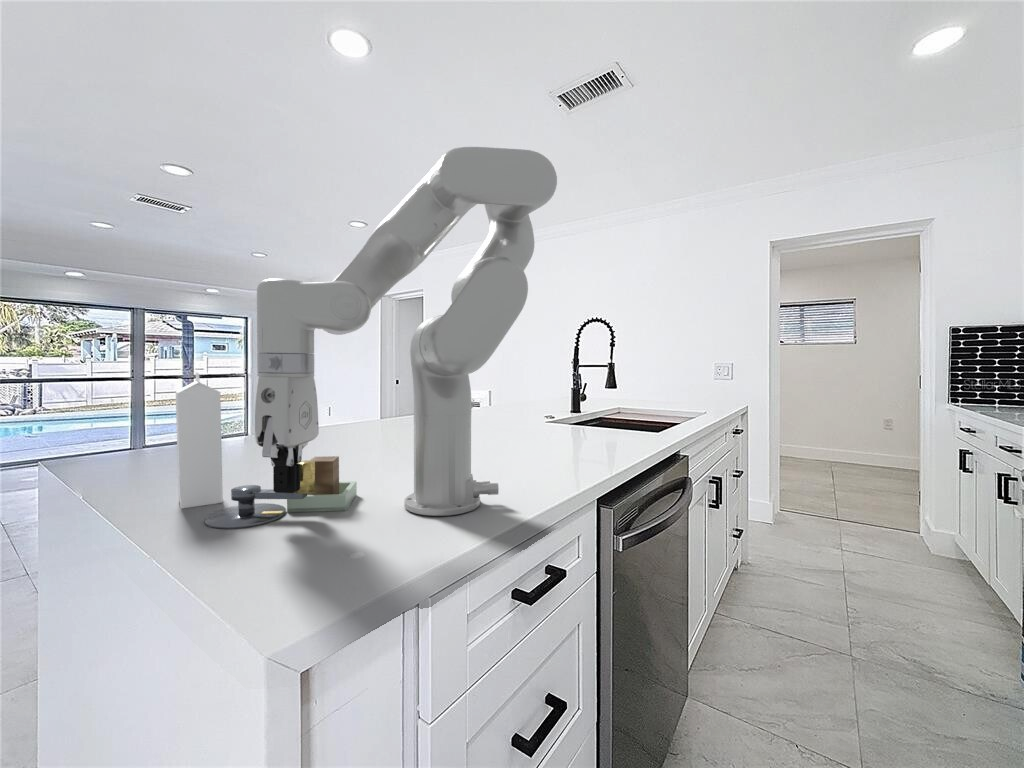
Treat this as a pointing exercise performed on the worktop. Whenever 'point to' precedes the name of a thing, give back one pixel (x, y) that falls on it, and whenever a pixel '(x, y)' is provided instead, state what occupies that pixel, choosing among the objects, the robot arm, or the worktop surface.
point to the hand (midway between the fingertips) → (286, 491)
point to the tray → (325, 500)
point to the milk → (199, 445)
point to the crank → (257, 493)
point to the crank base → (245, 515)
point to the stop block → (326, 475)
